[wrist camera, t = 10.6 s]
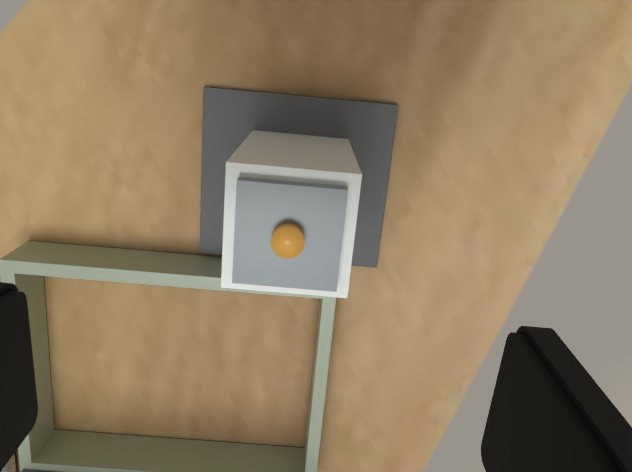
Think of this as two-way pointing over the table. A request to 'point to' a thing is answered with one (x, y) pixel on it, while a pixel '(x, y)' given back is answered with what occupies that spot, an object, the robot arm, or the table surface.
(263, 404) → the table surface
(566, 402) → the robot arm
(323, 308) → the case
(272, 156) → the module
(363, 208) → the mat
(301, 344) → the table surface
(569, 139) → the table surface
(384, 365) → the table surface
